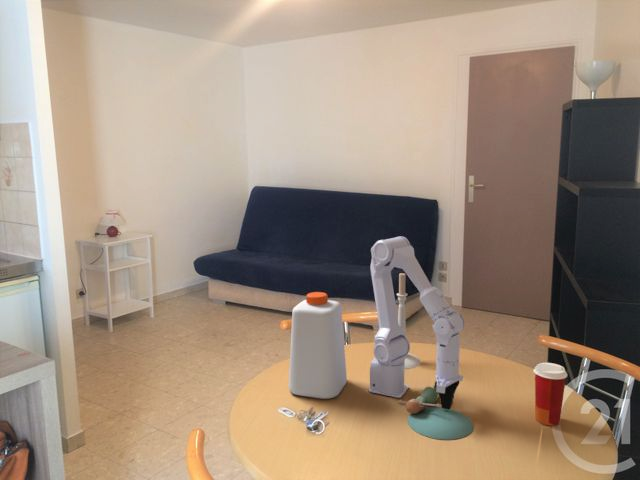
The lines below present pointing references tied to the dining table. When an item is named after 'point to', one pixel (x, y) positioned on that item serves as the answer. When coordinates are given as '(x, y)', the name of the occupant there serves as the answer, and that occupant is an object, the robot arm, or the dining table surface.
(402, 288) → the candlestick
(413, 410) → the toy
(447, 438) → the mat
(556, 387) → the paper cup
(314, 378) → the plastic bottle
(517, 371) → the dining table surface
